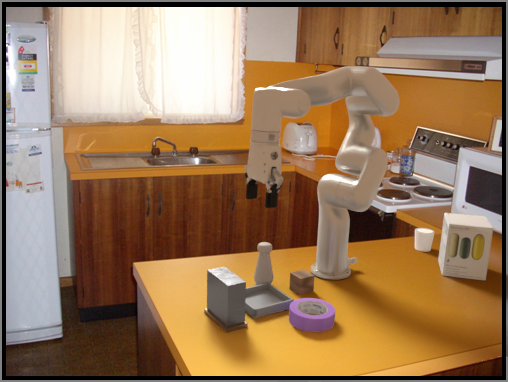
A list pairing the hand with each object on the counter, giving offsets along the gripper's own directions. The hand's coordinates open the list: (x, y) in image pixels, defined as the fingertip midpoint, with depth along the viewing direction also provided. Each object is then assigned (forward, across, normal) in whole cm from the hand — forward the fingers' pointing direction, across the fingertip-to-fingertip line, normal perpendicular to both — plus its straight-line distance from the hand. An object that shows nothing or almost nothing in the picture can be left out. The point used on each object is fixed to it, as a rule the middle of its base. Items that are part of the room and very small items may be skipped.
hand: (260, 202), depth 136 cm
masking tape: (+29, -15, -9) cm, 33 cm away
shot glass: (+25, +10, -77) cm, 81 cm away
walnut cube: (+28, +2, -17) cm, 33 cm away
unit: (+29, -4, +11) cm, 31 cm away
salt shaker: (+28, +9, -9) cm, 31 cm away
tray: (+28, -1, -2) cm, 28 cm away
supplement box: (+26, -10, -72) cm, 77 cm away
